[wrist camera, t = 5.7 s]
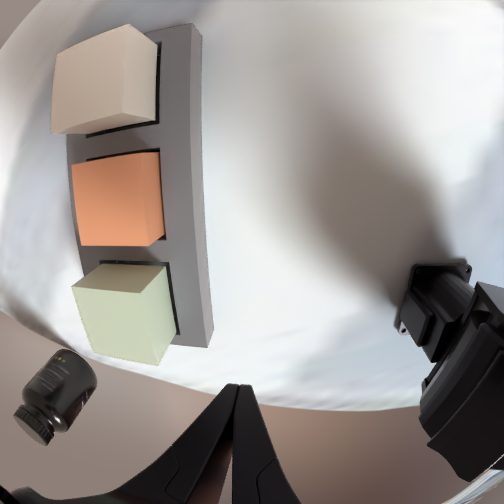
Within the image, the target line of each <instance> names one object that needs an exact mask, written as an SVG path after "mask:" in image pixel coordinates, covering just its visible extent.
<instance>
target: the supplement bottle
mask: <svg viewBox="0 0 504 504" xmlns="http://www.w3.org/2000/svg"><path fill="white" fill-rule="evenodd" d="M96 387H97V378H96V375H95V373H94V371H93V370H92V368H91V367H90V365H89V364H88V363H87V362H86V361H85V360H84V359H83V358H82V357H80V356H79V355H78V354H76V353H75V352H73V351H70V350H67V349H61V350H59V351H57V352H56V353H55V354H54V355H53V356H52V357H51V358H50V359H49V360H48V362H46V364H45V365H44V366H43V367H42V368H41V369H40V370H39V371H38V372H37V373H36V375H35V376H34V377H33V378H32V379H31V380H30V381H29V382H28V384H27V385H26V386H25V387H24V388H23V390H22V399H23V402H24V405H20V406H19V407H18V410H17V411H16V412H15V414H14V415H13V416H14V419H15V421H16V422H17V423H18V425H19V426H20V427H21V428H22V429H23V430H24V431H25V432H26V433H27V434H28V435H29V436H30V437H32V438H33V439H34V440H35V441H37V442H38V443H40V444H42V445H44V446H47V445H48V444H49V442H50V440H51V439H52V438H53V437H54V432H57V433H63V432H66V431H68V429H69V428H70V427H71V425H72V424H73V422H74V421H75V419H76V417H77V416H78V414H79V413H80V411H81V410H82V408H83V407H84V405H85V404H86V402H87V401H88V399H89V398H90V396H91V395H92V394H93V392H94V390H95V389H96Z"/></svg>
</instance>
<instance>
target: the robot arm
mask: <svg viewBox="0 0 504 504" xmlns="http://www.w3.org/2000/svg"><path fill="white" fill-rule="evenodd" d="M418 269H420V270H419V271H418V272H417V273H416V271H417V270H418ZM466 270H467V271H466ZM471 272H472V267H471V266H470V265H469V264H415V265H414V266H413V268H412V271H411V276H410V281H409V285H408V289H407V291H406V293H405V297H404V301H403V305H402V309H401V313H400V321H399V325H398V329H397V330H398V332H399V334H400V335H411V337H412V338H413V340H414V342H415V343H416V345H417V346H418V347H422V348H423V350H424V352H425V353H426V355H427V357H428V358H429V360H430V362H431V363H435V362H437V363H436V365H435V366H434V368H433V369H432V371H431V372H430V374H429V375H428V377H427V378H425V379H424V381H423V382H422V396H421V399H420V410H421V414H420V415H419V420H420V423H421V425H422V427H423V429H424V431H425V432H426V433H427V435H428V436H429V437H430V438H431V439H430V441H428V443H427V446H428V447H430V448H431V449H433V450H435V451H437V452H439V453H440V454H441V455H442V456H443V457H444V458H445V459H446V460H447V461H448V462H449V463H450V465H451V466H452V467H453V469H454V471H455V472H456V474H457V475H458V477H459V478H462V479H463V480H465V481H468V482H472V481H474V480H475V479H477V478H478V477H479V476H480V475H482V474H483V473H484V472H485V471H487V470H488V469H491V470H503V471H504V288H501V287H497V286H494V285H490V284H486V283H482V282H479V281H477V283H476V285H475V288H473V287H472V286H470V285H469V284H468V283H469V280H470V276H471ZM403 328H404V330H402V329H403ZM231 457H233V459H232V504H301V502H300V501H299V499H298V498H297V496H296V495H295V493H294V491H293V490H292V488H291V486H290V484H289V482H288V481H287V479H286V477H285V474H284V472H283V470H282V468H281V465H280V463H279V460H278V458H277V455H276V453H275V450H274V447H273V444H272V442H271V439H270V436H269V434H268V431H267V428H266V425H265V423H264V420H263V417H262V414H261V411H260V408H259V406H258V403H257V400H256V397H255V394H254V391H253V388H252V386H251V385H245V384H241V385H240V386H239V385H238V384H231V383H228V384H227V385H226V386H225V387H224V388H223V389H222V390H221V391H220V393H219V394H218V395H217V396H216V397H215V398H214V399H213V401H212V402H211V403H210V404H209V405H208V406H207V407H206V408H205V410H204V411H203V412H202V413H201V414H200V415H199V416H198V417H197V418H196V420H195V421H194V422H193V423H192V424H191V425H190V426H189V427H188V428H187V429H186V430H185V431H184V432H183V434H182V435H181V436H180V437H179V438H178V439H177V440H176V441H175V442H174V443H173V444H172V446H170V447H169V448H168V449H167V450H166V451H165V452H164V453H163V454H162V455H161V456H160V457H159V458H158V459H157V460H155V461H154V462H153V463H152V464H151V465H149V466H148V467H147V468H146V469H144V470H143V471H141V472H140V473H139V474H137V475H136V476H135V477H133V478H132V479H130V480H129V481H127V482H126V483H125V484H123V485H122V486H120V487H119V488H117V489H115V490H113V491H111V492H108V493H105V494H100V495H95V496H89V497H82V498H73V499H65V500H53V499H48V498H45V497H43V496H41V495H40V494H39V493H37V492H36V491H34V490H33V489H31V488H30V487H23V488H18V489H15V490H13V491H12V492H11V493H10V492H9V491H8V490H6V489H5V488H4V487H3V486H2V485H0V504H218V503H219V499H220V496H221V493H222V489H223V485H224V482H225V479H226V475H227V471H228V468H229V464H230V461H231Z"/></svg>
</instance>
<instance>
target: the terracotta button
mask: <svg viewBox="0 0 504 504" xmlns="http://www.w3.org/2000/svg"><path fill="white" fill-rule="evenodd" d="M71 167H72V181H73V191H74V201H75V209H76V216H77V223H78V229H79V235H80V241H81V246H149V245H151V244H152V243H153V242H155V241H156V240H157V239H159V238H160V237H161V236H163V235H164V234H165V233H166V229H165V219H164V208H163V194H162V179H161V159H160V152H155V153H136V154H129V155H123V156H116V157H110V158H105V159H99V160H94V161H89V162H84V163H79V164H74V165H71Z"/></svg>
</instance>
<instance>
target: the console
mask: <svg viewBox="0 0 504 504" xmlns="http://www.w3.org/2000/svg"><path fill="white" fill-rule="evenodd" d="M144 35H145V36H146V37H148V38H149V39H150V40H151V41H153V42H154V43H155V44H157V45H158V46H157V56H159V55H161V67H160V124H156V125H150V126H144V127H138V128H132V129H127V130H122V131H117V132H112V133H108V134H105V130H102V131H98V132H94V133H90V134H67V163H68V178H69V189H70V198H71V207H72V214H73V221H74V228H75V234H76V239H77V245H78V250H79V255H80V260H81V264H82V269H83V273H84V277H85V276H86V275H87V274H89V273H90V272H91V271H93V270H94V269H96V268H97V267H98V266H100V265H101V264H118V262H117V260H122V261H151V262H169V264H170V272H171V279H172V286H173V293H174V300H175V306H176V312H177V317H174V322H175V327H176V334H175V335H174V337H173V339H172V341H171V343H170V344H174V345H183V346H192V347H203V348H207V347H208V345H209V342H210V339H211V336H212V333H213V331H214V326H213V316H212V306H211V295H210V284H209V272H208V259H207V245H206V230H205V214H204V194H203V170H202V135H201V58H202V36H201V35H200V33H199V32H198V30H197V29H196V28H195V26H194V25H193V23H190V24H184V25H179V26H174V27H169V28H165V29H161V30H157V31H153V32H149V33H145V34H144ZM159 149H160V159H161V179H162V194H163V208H164V219H165V229H166V233H165V234H164V235H163V236H161V237H160V238H159V239H157V240H156V241H155V242H153V243H152V244H151V245H149V246H81V241H80V235H79V229H78V223H77V216H76V209H75V201H74V191H73V181H72V167H71V165H74V164H79V163H84V162H89V161H94V160H99V159H105V157H110V156H116V155H122V154H129V153H136V152H143V151H150V150H159Z"/></svg>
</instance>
